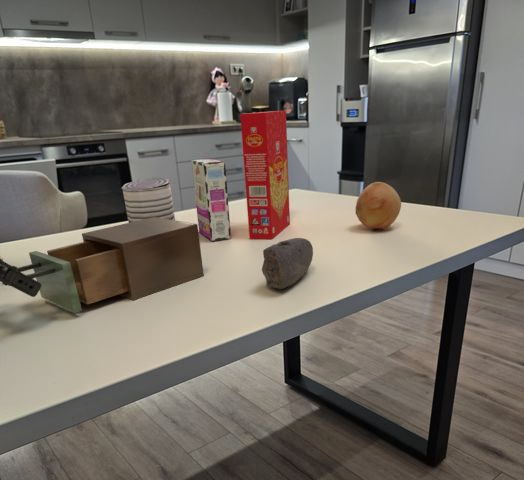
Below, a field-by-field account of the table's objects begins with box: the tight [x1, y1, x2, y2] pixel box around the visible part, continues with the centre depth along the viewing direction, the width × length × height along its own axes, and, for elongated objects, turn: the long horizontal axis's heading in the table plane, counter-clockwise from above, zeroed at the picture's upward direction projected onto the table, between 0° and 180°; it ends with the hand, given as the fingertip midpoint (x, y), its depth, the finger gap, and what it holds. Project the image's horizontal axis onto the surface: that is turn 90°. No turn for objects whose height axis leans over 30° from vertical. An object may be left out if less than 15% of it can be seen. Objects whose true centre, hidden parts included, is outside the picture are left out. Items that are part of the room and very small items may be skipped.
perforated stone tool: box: [261, 237, 314, 290], centre depth 78 cm, size 15×5×7 cm, turn 149°
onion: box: [355, 181, 402, 229], centre depth 106 cm, size 10×10×10 cm
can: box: [121, 177, 176, 223], centre depth 116 cm, size 11×11×12 cm
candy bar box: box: [190, 158, 232, 242], centre depth 108 cm, size 11×5×16 cm, turn 22°
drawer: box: [0, 240, 129, 314], centre depth 74 cm, size 19×11×7 cm, turn 136°
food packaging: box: [239, 110, 291, 240], centre depth 107 cm, size 15×5×25 cm, turn 162°
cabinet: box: [81, 217, 205, 301], centre depth 82 cm, size 15×13×9 cm
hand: (25, 285), depth 69 cm, fingers open, 8 cm apart
